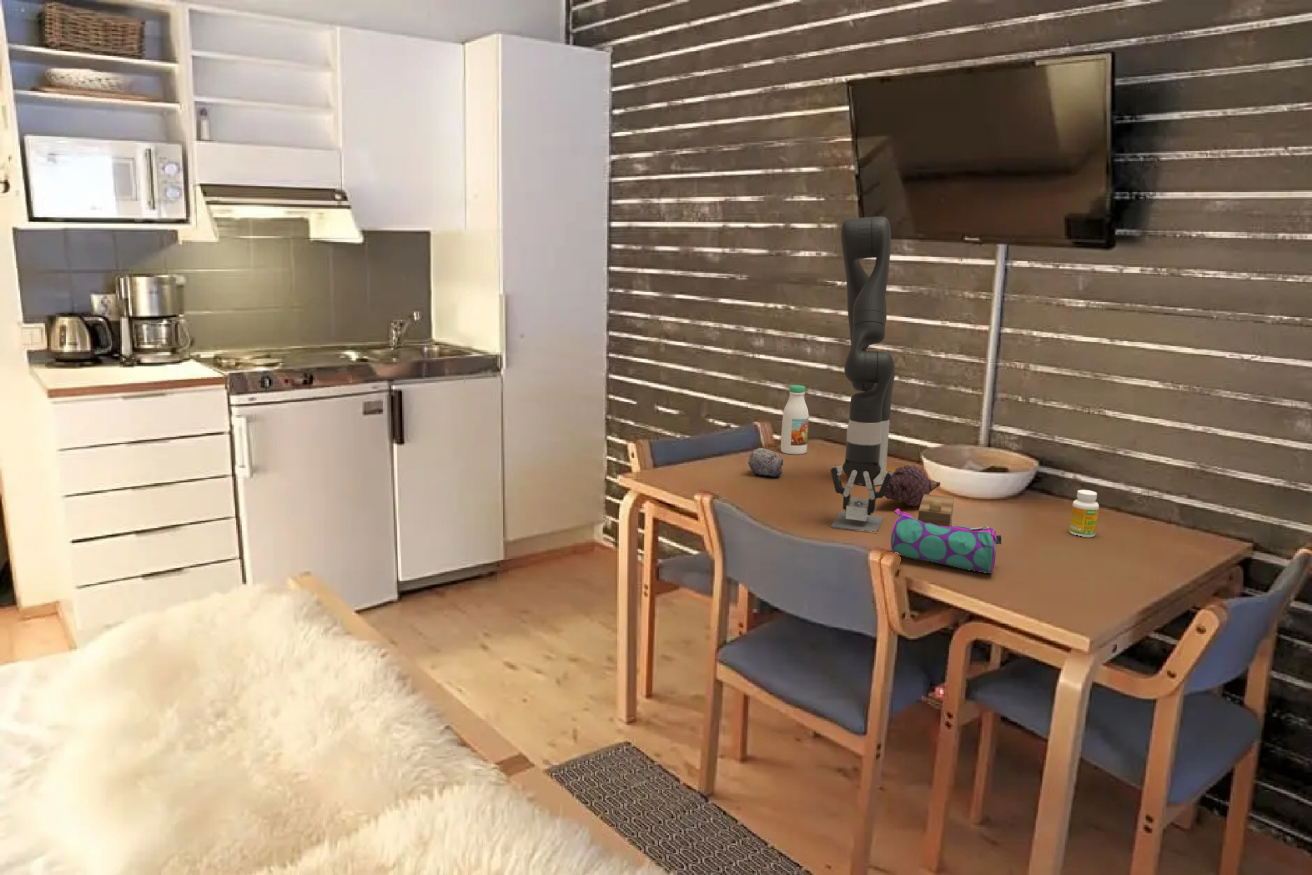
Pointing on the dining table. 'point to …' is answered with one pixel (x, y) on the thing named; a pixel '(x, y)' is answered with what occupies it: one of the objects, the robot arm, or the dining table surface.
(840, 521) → the mat
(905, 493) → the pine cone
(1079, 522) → the supplement bottle
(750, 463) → the pumice stone
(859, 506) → the lever cap
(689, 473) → the dining table surface
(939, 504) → the body
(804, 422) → the milk bottle
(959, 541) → the pencil case
